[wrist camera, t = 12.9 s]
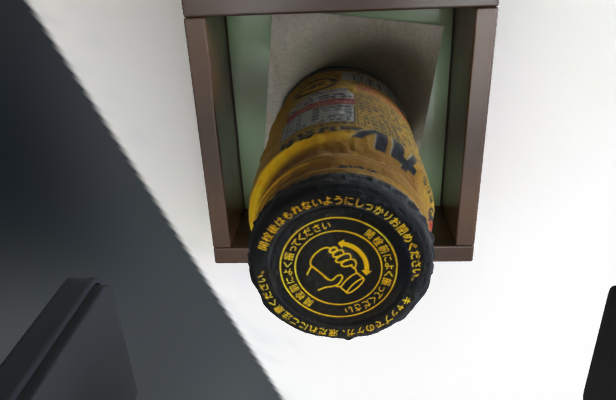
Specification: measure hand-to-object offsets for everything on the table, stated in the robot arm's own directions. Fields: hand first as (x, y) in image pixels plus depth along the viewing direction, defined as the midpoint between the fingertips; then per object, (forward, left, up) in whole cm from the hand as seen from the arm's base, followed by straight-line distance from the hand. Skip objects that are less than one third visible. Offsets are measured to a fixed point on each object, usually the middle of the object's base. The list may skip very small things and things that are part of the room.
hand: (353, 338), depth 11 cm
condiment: (0, 0, -17) cm, 17 cm away
